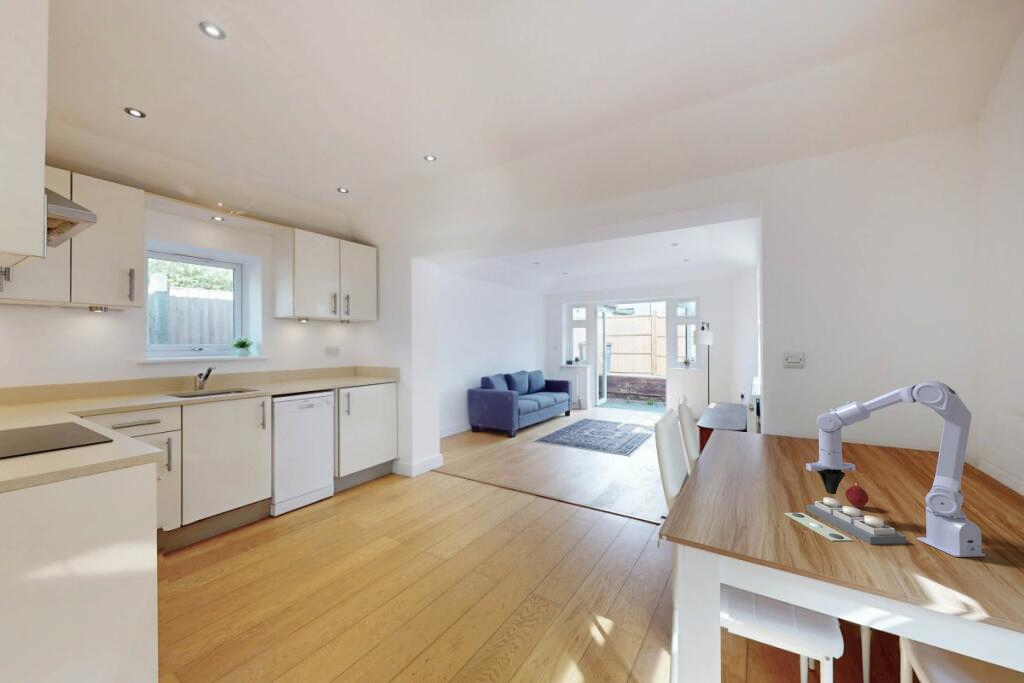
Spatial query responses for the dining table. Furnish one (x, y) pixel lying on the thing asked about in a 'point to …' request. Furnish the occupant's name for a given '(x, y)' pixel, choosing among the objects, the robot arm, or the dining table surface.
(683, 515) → the dining table surface
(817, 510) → the button board
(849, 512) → the button middle
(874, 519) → the button near
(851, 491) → the onion
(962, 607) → the dining table surface
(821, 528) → the card
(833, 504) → the button far
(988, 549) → the dining table surface
